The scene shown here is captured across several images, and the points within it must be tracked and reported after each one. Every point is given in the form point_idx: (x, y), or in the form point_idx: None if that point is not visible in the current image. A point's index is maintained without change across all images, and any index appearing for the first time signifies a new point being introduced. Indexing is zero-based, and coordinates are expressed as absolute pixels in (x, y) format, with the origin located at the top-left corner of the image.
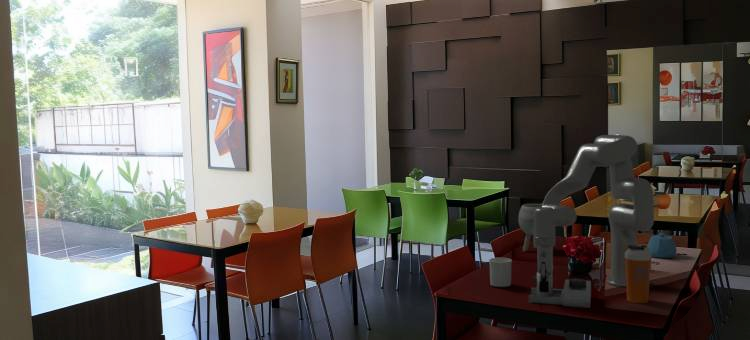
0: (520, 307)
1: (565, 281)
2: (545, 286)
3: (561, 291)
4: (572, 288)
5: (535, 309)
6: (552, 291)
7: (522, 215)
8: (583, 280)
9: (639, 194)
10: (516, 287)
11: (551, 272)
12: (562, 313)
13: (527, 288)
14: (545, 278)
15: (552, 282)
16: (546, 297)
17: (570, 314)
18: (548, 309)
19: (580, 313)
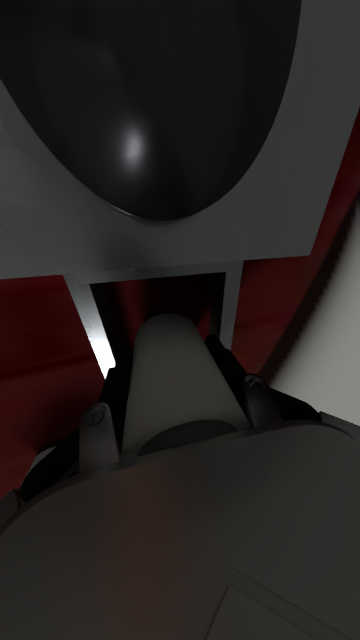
0: (262, 365)
1: (58, 270)
2: (236, 361)
3: (91, 283)
4: (294, 172)
5: (280, 330)
6: (169, 321)
7: None
8: None
9: None
10: (64, 428)
11: (342, 432)
12: (330, 241)
13: (52, 406)
14: (302, 402)
15: (177, 351)
16: (233, 326)
17: (348, 205)
18: (282, 296)
19: (347, 150)
